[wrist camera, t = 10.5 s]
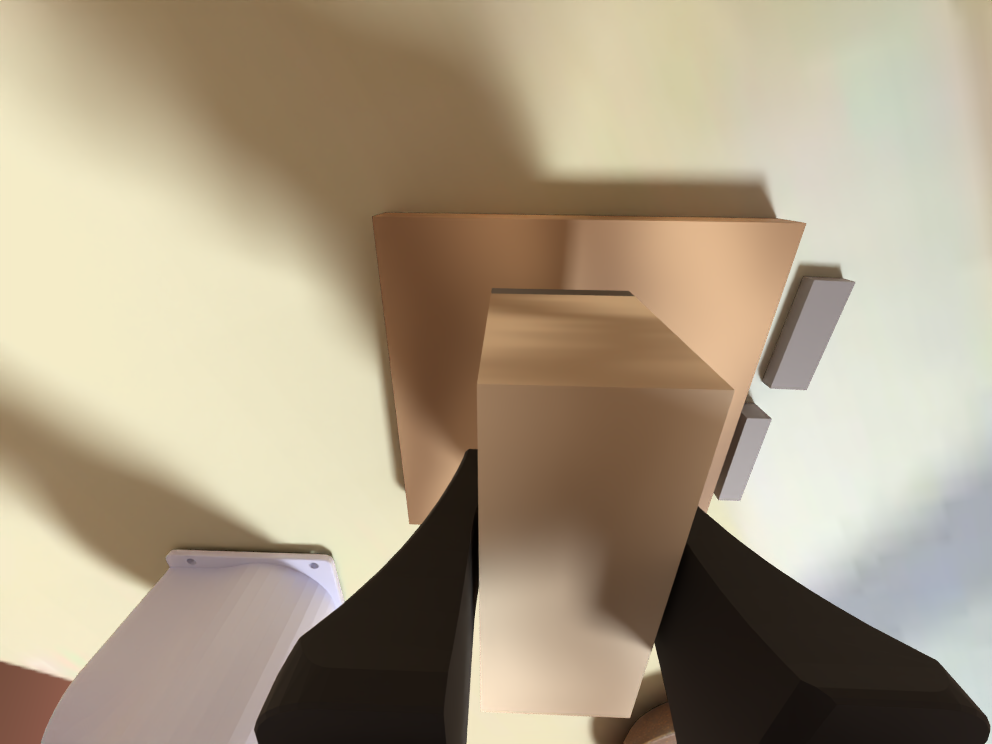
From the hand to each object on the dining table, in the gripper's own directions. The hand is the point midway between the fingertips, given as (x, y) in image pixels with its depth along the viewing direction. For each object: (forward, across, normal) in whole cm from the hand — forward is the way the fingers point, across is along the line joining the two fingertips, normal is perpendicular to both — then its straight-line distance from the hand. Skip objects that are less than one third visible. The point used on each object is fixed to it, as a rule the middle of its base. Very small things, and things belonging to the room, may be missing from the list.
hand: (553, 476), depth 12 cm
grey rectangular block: (+5, -10, -3) cm, 12 cm away
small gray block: (+5, -8, +3) cm, 10 cm away
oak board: (+6, -1, 0) cm, 6 cm away
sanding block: (+2, 0, 0) cm, 2 cm away
